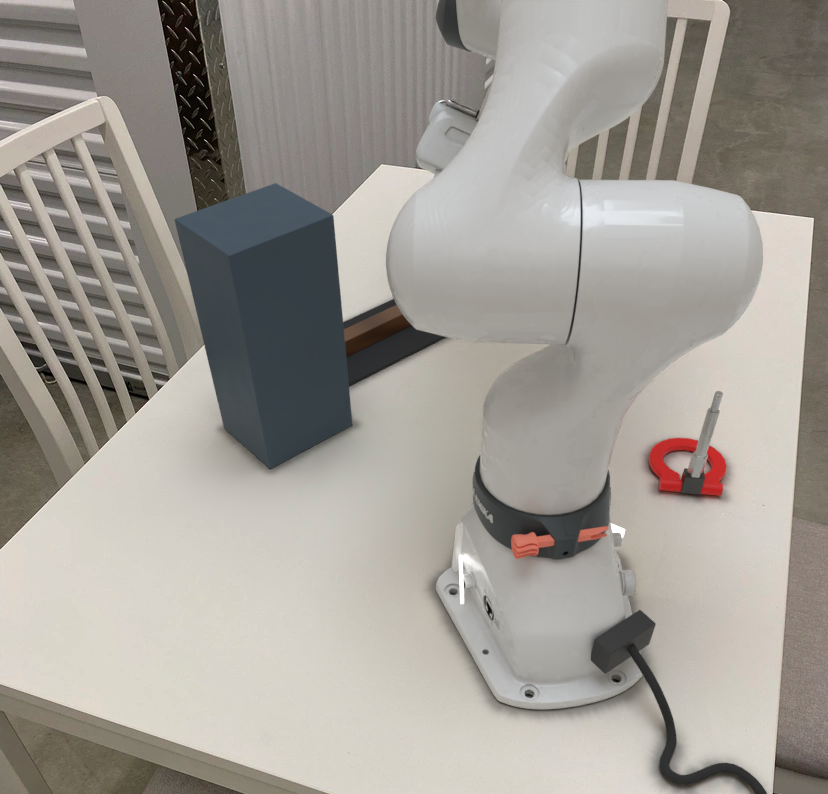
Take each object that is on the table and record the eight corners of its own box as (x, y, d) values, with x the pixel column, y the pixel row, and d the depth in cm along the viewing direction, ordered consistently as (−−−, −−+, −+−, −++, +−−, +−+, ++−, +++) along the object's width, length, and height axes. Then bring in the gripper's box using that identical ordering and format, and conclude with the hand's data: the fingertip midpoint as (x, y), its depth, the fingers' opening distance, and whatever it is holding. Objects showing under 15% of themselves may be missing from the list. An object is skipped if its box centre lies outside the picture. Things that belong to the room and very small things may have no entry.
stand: (304, 388, 104) (275, 182, 85) (352, 425, 99) (333, 214, 80) (223, 428, 99) (173, 218, 80) (270, 469, 94) (228, 255, 75)
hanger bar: (430, 304, 117) (430, 263, 112) (441, 311, 115) (441, 270, 111) (304, 364, 107) (298, 322, 102) (315, 372, 106) (310, 330, 101)
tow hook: (646, 442, 96) (650, 493, 90) (669, 345, 87) (676, 393, 81) (719, 448, 95) (728, 500, 89) (751, 351, 86) (764, 400, 80)
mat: (399, 298, 118) (399, 296, 118) (455, 332, 112) (455, 329, 112) (285, 351, 110) (285, 348, 110) (339, 391, 104) (339, 388, 103)
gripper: (437, 82, 105) (395, 186, 107) (582, 146, 105) (537, 249, 107) (438, 102, 112) (398, 200, 114) (575, 162, 112) (533, 259, 114)
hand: (467, 224), depth 111 cm, fingers open, 8 cm apart
